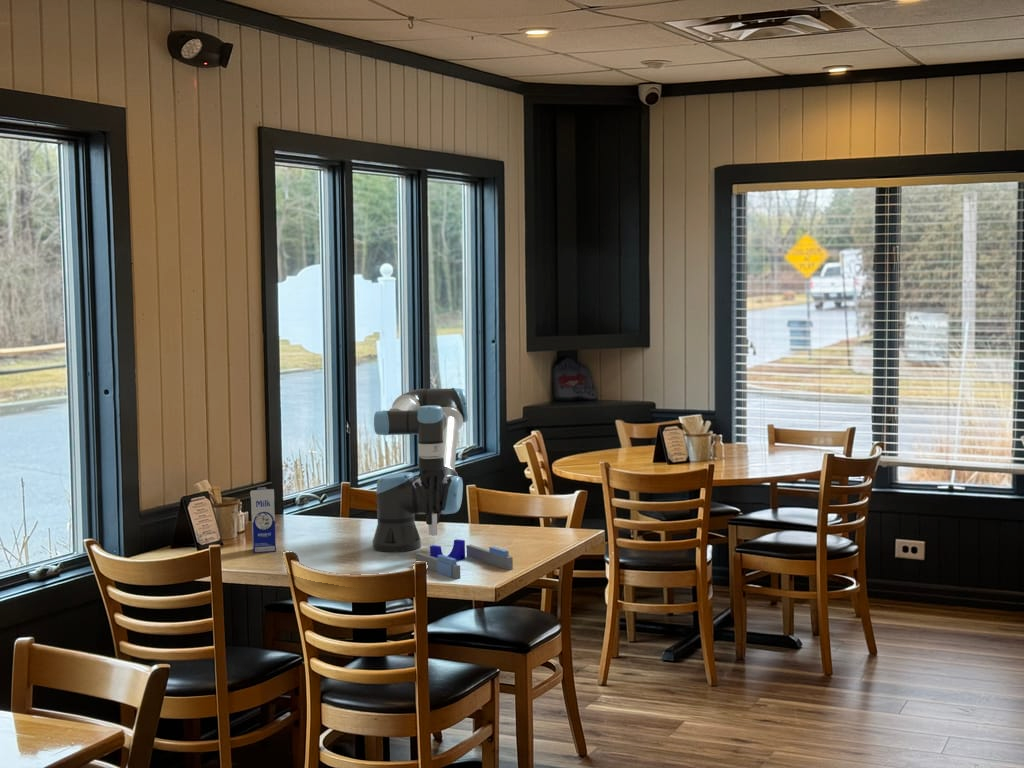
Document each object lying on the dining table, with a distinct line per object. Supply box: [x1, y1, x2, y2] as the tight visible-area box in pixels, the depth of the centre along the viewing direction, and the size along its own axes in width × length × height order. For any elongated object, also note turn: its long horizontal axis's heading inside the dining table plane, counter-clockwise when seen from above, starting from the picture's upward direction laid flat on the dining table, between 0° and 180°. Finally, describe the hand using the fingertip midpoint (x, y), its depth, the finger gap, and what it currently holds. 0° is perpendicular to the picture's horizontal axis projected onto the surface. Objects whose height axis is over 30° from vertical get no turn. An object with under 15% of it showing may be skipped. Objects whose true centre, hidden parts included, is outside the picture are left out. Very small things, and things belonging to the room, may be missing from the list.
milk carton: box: [249, 486, 277, 554], centre depth 377 cm, size 7×7×20 cm
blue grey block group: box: [415, 544, 514, 580], centre depth 347 cm, size 23×19×5 cm
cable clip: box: [429, 538, 466, 563], centre depth 354 cm, size 12×4×6 cm, turn 141°
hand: (433, 534), depth 361 cm, fingers closed
